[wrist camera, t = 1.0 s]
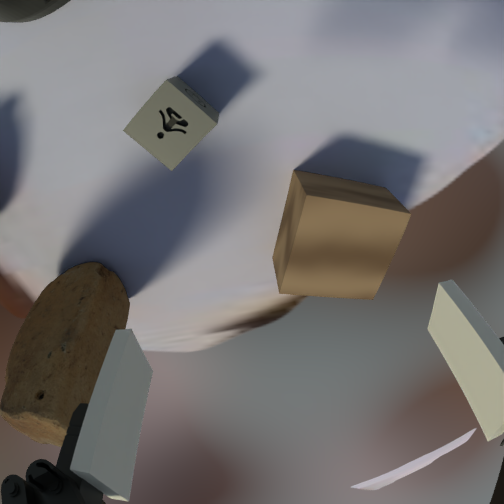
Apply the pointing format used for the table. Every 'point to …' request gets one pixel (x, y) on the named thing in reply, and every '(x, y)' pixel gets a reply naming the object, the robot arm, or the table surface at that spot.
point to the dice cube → (172, 122)
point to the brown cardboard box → (336, 237)
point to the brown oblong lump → (62, 350)
